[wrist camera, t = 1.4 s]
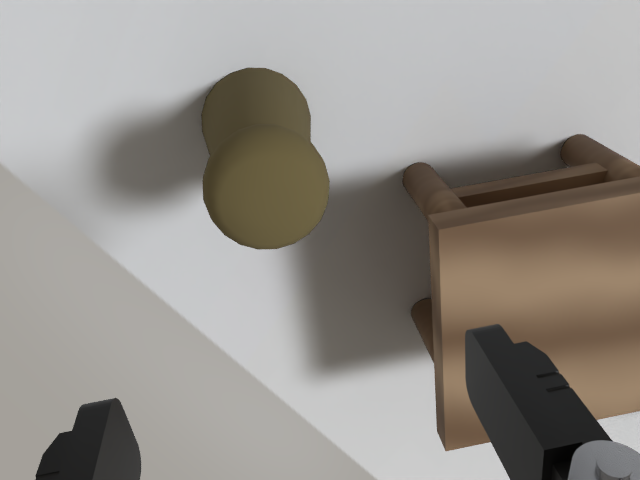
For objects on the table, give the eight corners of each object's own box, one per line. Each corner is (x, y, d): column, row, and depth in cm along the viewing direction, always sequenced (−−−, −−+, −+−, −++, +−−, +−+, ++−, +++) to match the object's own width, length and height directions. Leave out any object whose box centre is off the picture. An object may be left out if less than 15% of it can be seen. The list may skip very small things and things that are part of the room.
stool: (384, 152, 34) (438, 229, 25) (611, 113, 34) (740, 174, 26) (398, 339, 40) (445, 451, 32) (588, 302, 41) (684, 401, 33)
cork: (233, 191, 33) (236, 294, 24) (179, 98, 31) (158, 173, 21) (327, 146, 33) (368, 233, 23) (282, 47, 30) (307, 101, 20)
